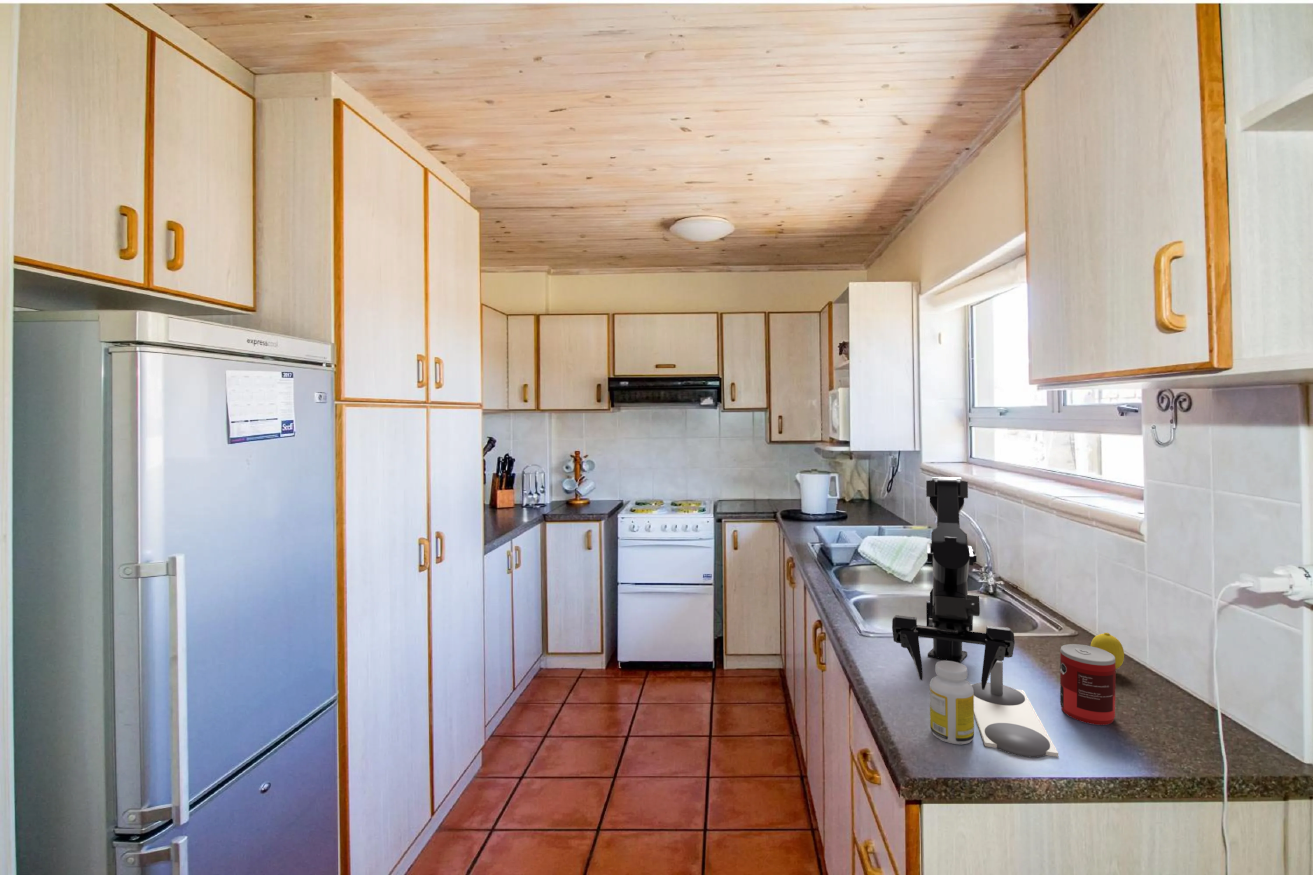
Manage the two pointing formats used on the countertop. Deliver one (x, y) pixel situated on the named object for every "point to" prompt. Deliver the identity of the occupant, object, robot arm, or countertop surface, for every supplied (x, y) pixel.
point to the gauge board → (1009, 719)
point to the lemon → (1109, 646)
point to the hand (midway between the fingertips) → (951, 683)
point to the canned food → (1087, 684)
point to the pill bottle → (951, 703)
